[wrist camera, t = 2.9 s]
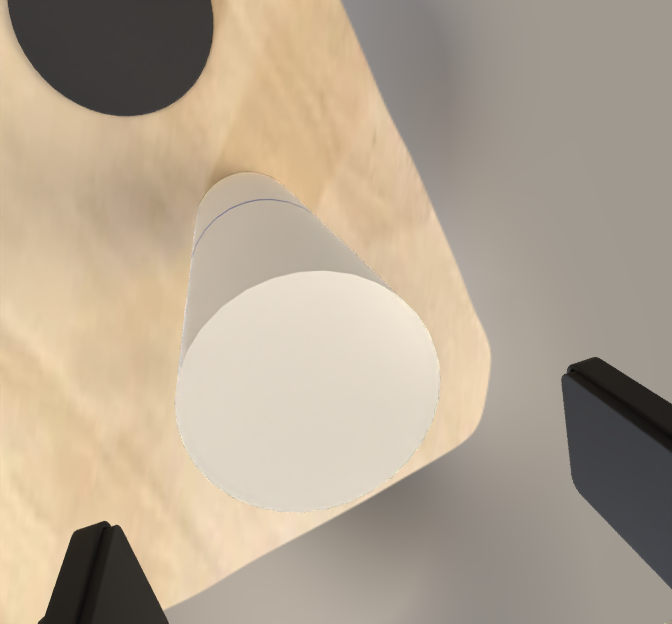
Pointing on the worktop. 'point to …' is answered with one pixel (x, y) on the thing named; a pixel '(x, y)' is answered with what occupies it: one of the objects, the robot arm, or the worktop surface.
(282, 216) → the cylindrical container
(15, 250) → the worktop surface
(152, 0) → the coaster
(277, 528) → the worktop surface
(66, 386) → the worktop surface
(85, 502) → the worktop surface
